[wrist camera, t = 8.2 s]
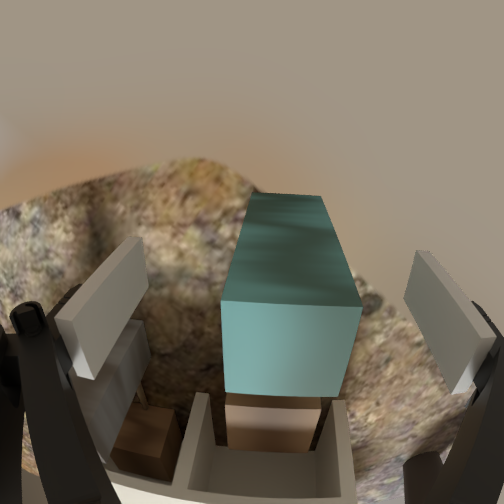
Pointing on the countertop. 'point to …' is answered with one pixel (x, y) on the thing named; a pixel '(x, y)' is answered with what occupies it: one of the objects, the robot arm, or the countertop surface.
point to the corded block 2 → (285, 323)
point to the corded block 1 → (128, 411)
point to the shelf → (247, 469)
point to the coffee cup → (420, 476)
